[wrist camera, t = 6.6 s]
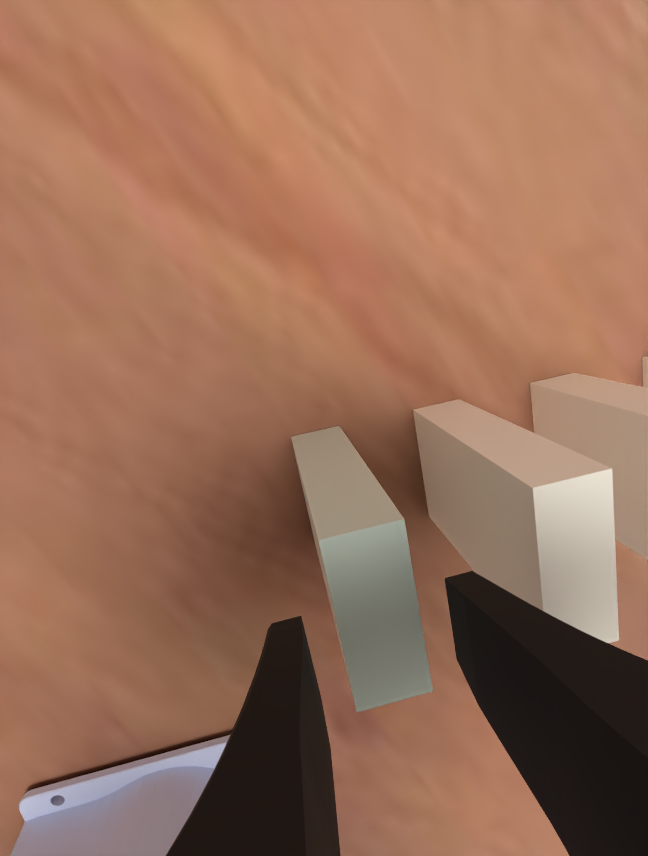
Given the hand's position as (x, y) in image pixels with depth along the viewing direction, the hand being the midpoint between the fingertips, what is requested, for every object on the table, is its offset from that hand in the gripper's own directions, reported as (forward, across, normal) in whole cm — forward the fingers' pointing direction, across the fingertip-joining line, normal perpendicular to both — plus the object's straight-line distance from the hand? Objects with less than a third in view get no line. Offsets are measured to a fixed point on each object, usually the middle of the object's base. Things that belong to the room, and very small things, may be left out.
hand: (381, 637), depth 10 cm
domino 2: (+8, -5, 0) cm, 10 cm away
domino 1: (+8, 0, 0) cm, 8 cm away
